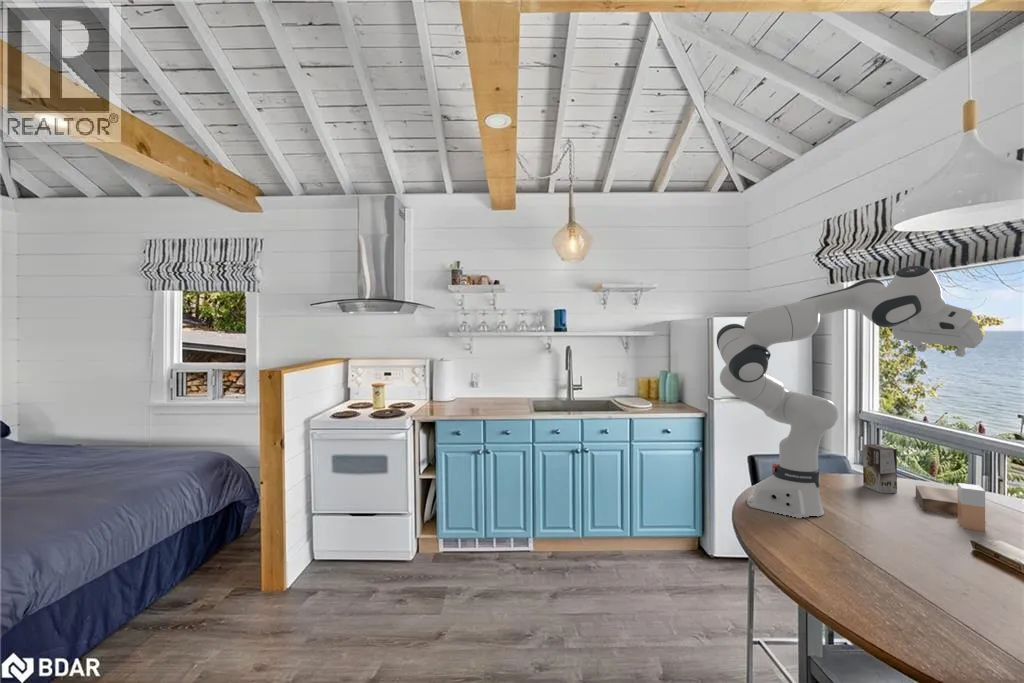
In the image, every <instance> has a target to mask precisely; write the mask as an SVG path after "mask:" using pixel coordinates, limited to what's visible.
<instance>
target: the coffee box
mask: <svg viewBox="0 0 1024 683" xmlns="http://www.w3.org/2000/svg"><path fill="white" fill-rule="evenodd" d="M897 451H898V449H896V448H894V447H890V446H887V445H883V444H879V443H875V444H874V443H871V444H862V471H863V472H862V473H863V475H862V479H863V480H862V481H863V483H862V485H863V486H864V487H866V488H868V489H871V490H872V491H876V492H878V493H879V494H897V493H898V467H897V466H898V461H897V460H898V458H897V457H898V455H897V454H898V453H897Z"/></svg>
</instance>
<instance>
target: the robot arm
mask: <svg viewBox="0 0 1024 683" xmlns="http://www.w3.org/2000/svg"><path fill="white" fill-rule="evenodd" d="M942 294H943V292H942V288H941V284H940V283H939V281H938V279H937V276H936V275H935V273H934V272H933V270H932V269H930V268H929V267H926V266H923V265H910V266H909V265H908V266H905V267H902V268H900V269H897V271H896V272H895V273H894V276H893V278H892V279H891V280H890V282H889V283H888V284H887V285H886V284H885V283H884V282H883V281H881V280H879V279H874V278H867V279H862V280H859V281H858V282H855V283H854V284H852V285H849V286H848V287H845V288H842V289H838V290H833V291H829V292H825V293H820V294H816V295H813V296H809V297H807V298H804V299H801V300H800V301H797V302H792V303H787V304H782V305H777V306H772V307H768V308H764V309H761V310H758V311H755V312H752V313H751V314H749V315H748V316H747V317H746V318H745V321H744V326H743V324H739V323H731V324H726V325H725V326H722V328H720V329H719V331H718V332H717V335H716V346H717V349H718V350H719V353H720V355H721V358H722V360H723V361H724V363H725V366H723V368H722V369H721V371H720V374H719V381H720V384H721V385H722V387H723V388H725V389H726V390H727V391H728V392H729V393H731V394H732V395H734V397H737V398H738V399H740V400H742V401H743V402H746V403H748V404H750V405H752V406H753V407H756V408H757V409H760V410H761V411H763V413H764V414H765V416H766V417H768V418H770V419H771V420H772V421H773V420H774V421H776V422H778V423H781V424H784V425H790V431H789V434H788V435H787V436H786V437H784V438H783V439H781V440H780V442H779V444H778V445H779V446H778V451H779V452H778V453H779V454H778V457H779V459H778V460H779V463H778V462H773V464H772V466H771V467H772V475H771V476H769V477H767V478H764V479H763V480H761V481H759V482H758V483H757V484H756V486H755V488H754V492H753V493H752V494H750V495H749V496H748V497H747V500H746V503H747V504H746V505H747V506H748V507H749V508H753V509H756V510H761V511H764V512H769V513H773V512H774V514H777V513H779V514H778V515H781V514H783V516H786V515H789V516H788V517H790V516H792V517H791V518H794V517H796V518H795V519H803V518H802V517H804V518H810V517H809V516H817V517H820V516H821V517H822V516H824V514H825V511H824V508H823V505H822V500H821V495H820V494H821V493H820V485H821V474H820V469H819V449H820V448H819V447H820V443H821V440H822V438H823V436H824V434H825V433H826V432H827V431H828V430H830V429H832V428H833V427H834V426H835V425H836V423H837V422H838V418H839V411H838V408H837V406H836V404H835V403H834V402H833V401H831V400H828V399H827V398H824V397H820V396H819V395H812V394H805V393H799V392H795V391H791V390H789V389H786V388H785V385H784V383H782V381H780V380H779V379H776V378H774V377H773V376H771V375H769V374H767V370H768V367H769V360H770V358H771V357H772V356H771V355H772V353H771V351H770V350H769V347H771V346H772V345H775V344H781V343H789V342H795V341H796V342H797V341H801V340H805V339H808V338H810V337H812V336H813V335H814V334H815V333H816V332H817V331H818V329H819V325H820V317H822V316H824V315H828V314H831V313H835V312H836V313H838V312H840V311H845V310H852V311H857V312H859V313H860V314H861V315H863V316H864V317H865V318H867V319H868V320H869V321H870V322H872V323H873V324H875V325H876V326H878V327H881V328H891V330H892V334H893V336H894V338H895V339H897V340H899V341H905V342H907V341H908V342H909V343H910V345H912V346H914V348H916V350H917V352H923V353H924V352H925V351H927V345H926V344H933V345H940V346H949V347H950V346H951V347H956V348H957V349H956V350H955V351H954V354H955V356H956V357H960V358H962V357H965V355H966V350H965V349H966V348H968V349H975V348H977V347H978V346H979V345H980V344H981V343H982V342H983V340H984V336H983V332H982V330H981V327H980V326H979V324H978V323H977V321H975V320H974V319H973V318H972V317H973V312H972V311H971V310H969V309H966V308H962V307H957V306H954V305H951V304H950V303H946V300H945V299H944V298H943V296H942ZM924 343H925V344H924Z"/></svg>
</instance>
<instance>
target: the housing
mask: <svg viewBox="0 0 1024 683" xmlns="http://www.w3.org/2000/svg"><path fill="white" fill-rule="evenodd" d="M957 491H958V515H957V522H958V524H959V525H960V527H961V528H962V529H966V528H967V530H974V531H978V532H979V531H980V532H986V490H985V489H984V488H983V487H982V486H981V485H979V484H972V483H971V484H970V483H963V482H957Z"/></svg>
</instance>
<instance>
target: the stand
mask: <svg viewBox="0 0 1024 683" xmlns="http://www.w3.org/2000/svg"><path fill="white" fill-rule="evenodd" d="M915 498H916V500H917V501H918V503H919V506H920V508H921V509H922V511H925V510H926V511H927V512H931V511H934V512H933V513H938V512H940V514H945V513H947V514H946V515H951V514H953V515H954V516H958V489H957V490H956V489H948V488H940V487H933V486H931V487H930V486H924V485H917V484H916V485H915Z"/></svg>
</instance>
